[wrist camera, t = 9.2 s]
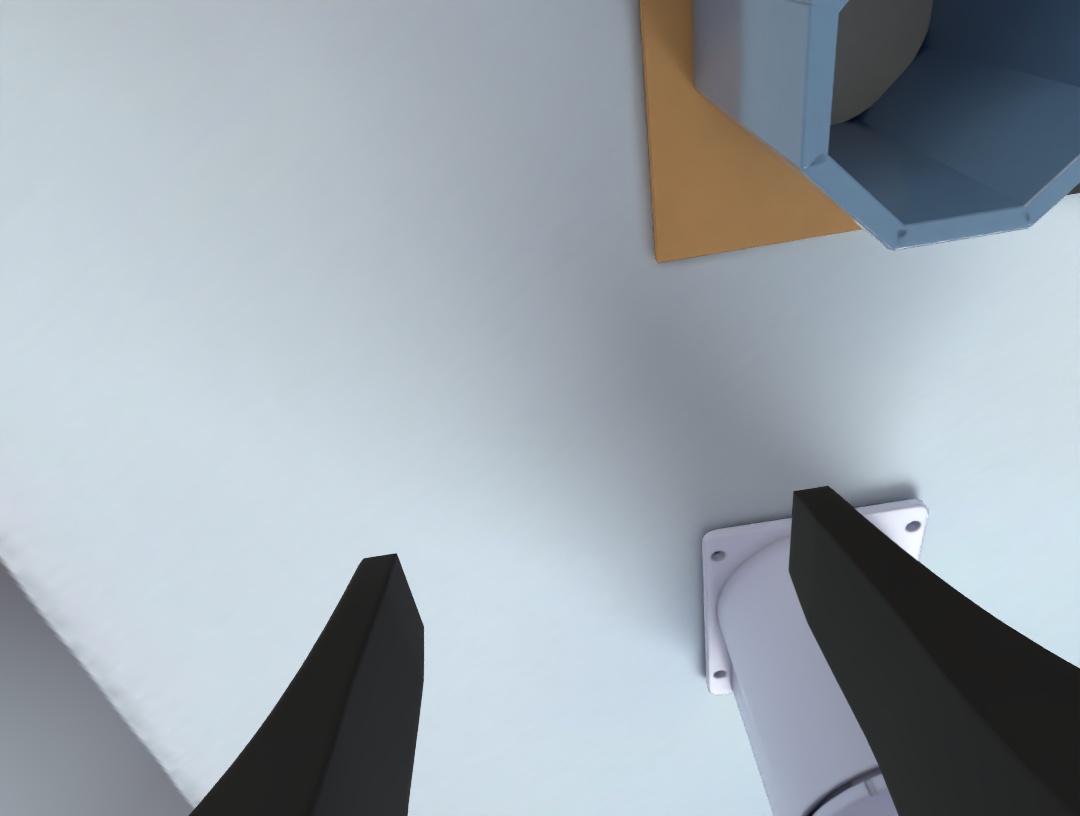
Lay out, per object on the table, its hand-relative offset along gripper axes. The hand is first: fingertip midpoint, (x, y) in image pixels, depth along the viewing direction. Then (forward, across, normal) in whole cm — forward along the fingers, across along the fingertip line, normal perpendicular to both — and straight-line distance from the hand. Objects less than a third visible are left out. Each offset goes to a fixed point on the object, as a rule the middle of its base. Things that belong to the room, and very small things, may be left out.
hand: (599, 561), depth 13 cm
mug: (+9, -7, -8) cm, 14 cm away
